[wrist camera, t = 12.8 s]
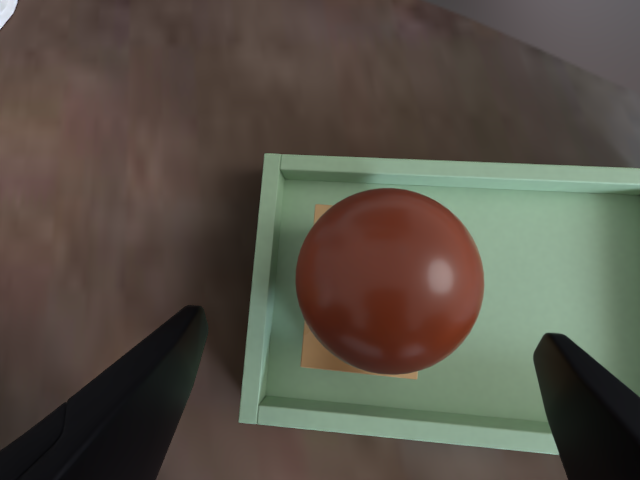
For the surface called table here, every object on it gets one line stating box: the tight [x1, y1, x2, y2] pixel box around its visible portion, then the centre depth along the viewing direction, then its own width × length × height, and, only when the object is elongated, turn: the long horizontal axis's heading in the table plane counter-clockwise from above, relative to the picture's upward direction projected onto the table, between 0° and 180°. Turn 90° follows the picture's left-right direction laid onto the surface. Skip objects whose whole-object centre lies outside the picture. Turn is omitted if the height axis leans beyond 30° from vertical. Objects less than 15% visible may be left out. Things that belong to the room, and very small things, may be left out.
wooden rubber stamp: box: [295, 188, 485, 380], centre depth 11 cm, size 4×6×13 cm
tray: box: [239, 153, 640, 455], centre depth 16 cm, size 19×12×2 cm, turn 86°
